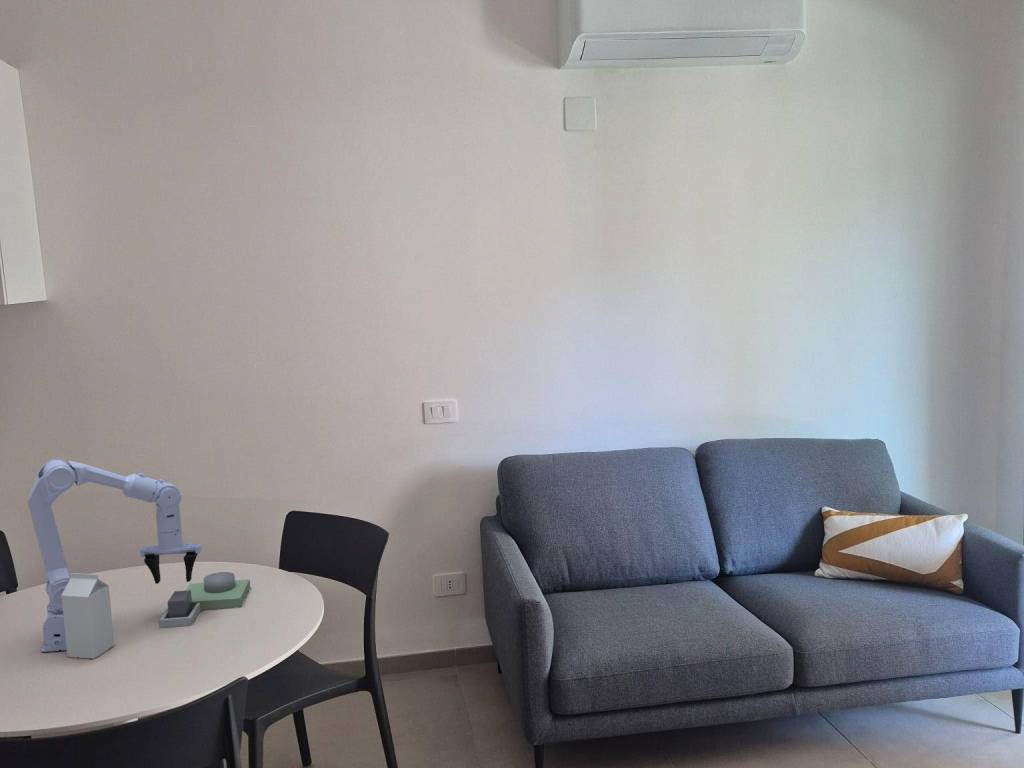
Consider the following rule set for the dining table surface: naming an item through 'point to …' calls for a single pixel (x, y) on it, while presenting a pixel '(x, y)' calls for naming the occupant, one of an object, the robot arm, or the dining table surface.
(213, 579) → the green panel
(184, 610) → the dark gray block
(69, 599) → the milk carton
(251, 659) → the dining table surface
